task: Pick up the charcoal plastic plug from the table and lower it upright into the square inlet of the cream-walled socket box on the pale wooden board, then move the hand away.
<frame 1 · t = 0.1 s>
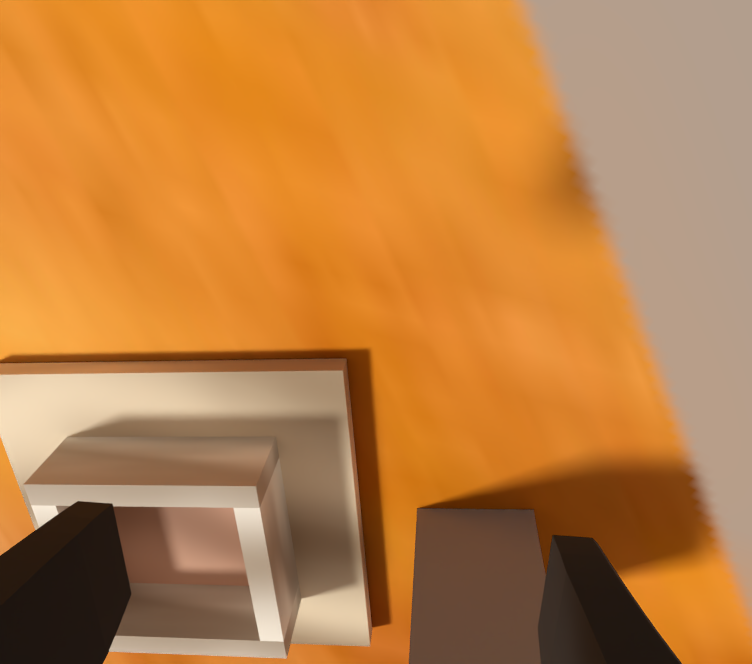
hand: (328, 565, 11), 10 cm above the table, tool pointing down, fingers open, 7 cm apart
plug: (474, 552, 23), on the table
holder box: (197, 506, 23), on the table
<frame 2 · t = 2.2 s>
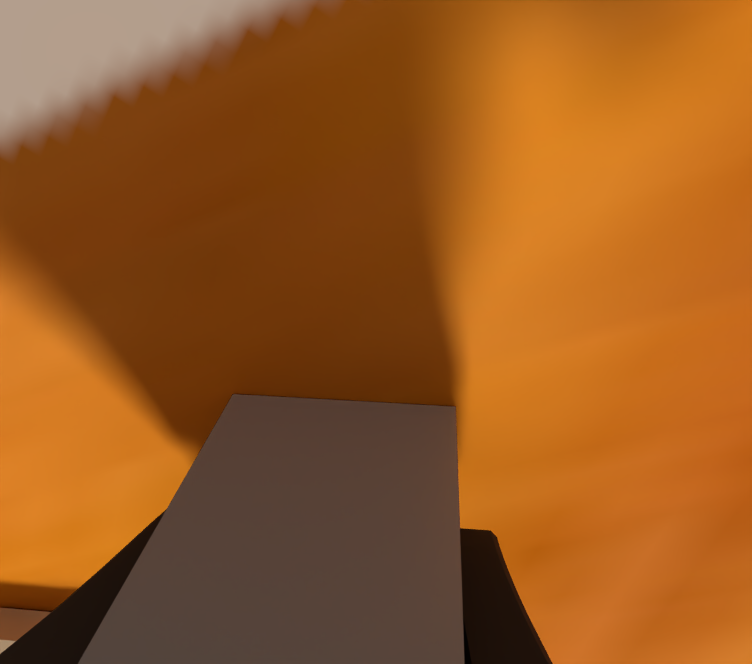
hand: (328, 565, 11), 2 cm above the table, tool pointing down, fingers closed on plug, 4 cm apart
plug: (344, 490, 12), on the table, touching gripper
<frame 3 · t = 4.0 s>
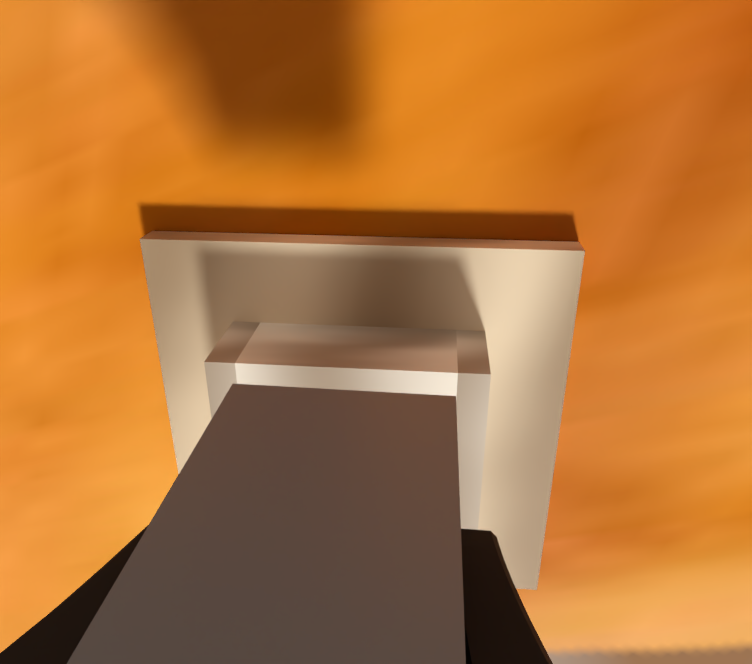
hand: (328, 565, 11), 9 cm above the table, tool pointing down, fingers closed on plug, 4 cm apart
plug: (344, 480, 12), point 7 cm above the table, touching gripper
holder box: (361, 418, 21), on the table
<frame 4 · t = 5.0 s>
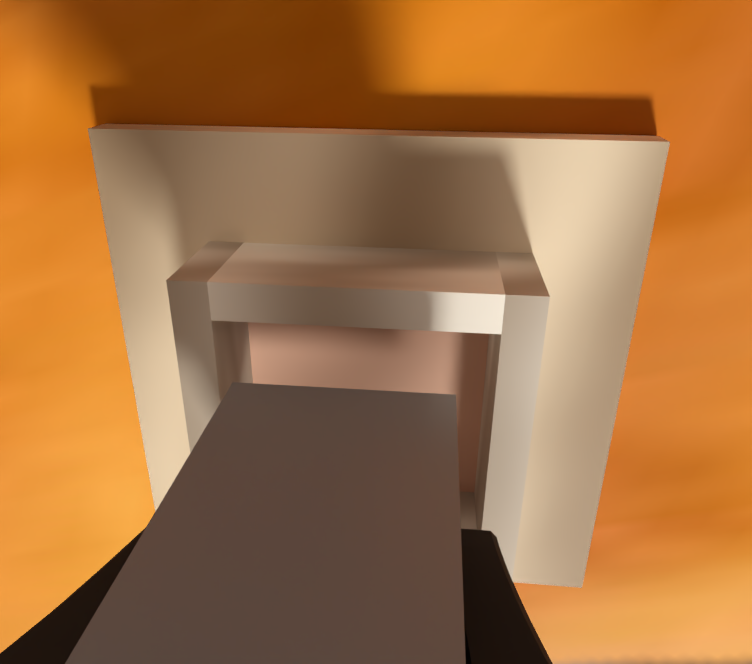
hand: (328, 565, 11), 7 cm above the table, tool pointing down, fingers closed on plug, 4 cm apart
plug: (344, 479, 12), point 5 cm above the table, touching gripper
holder box: (370, 372, 16), on the table
when the fingers open (4 cm above the table, at t = 5.9 s): plug drops 1 cm, resting on holder box.
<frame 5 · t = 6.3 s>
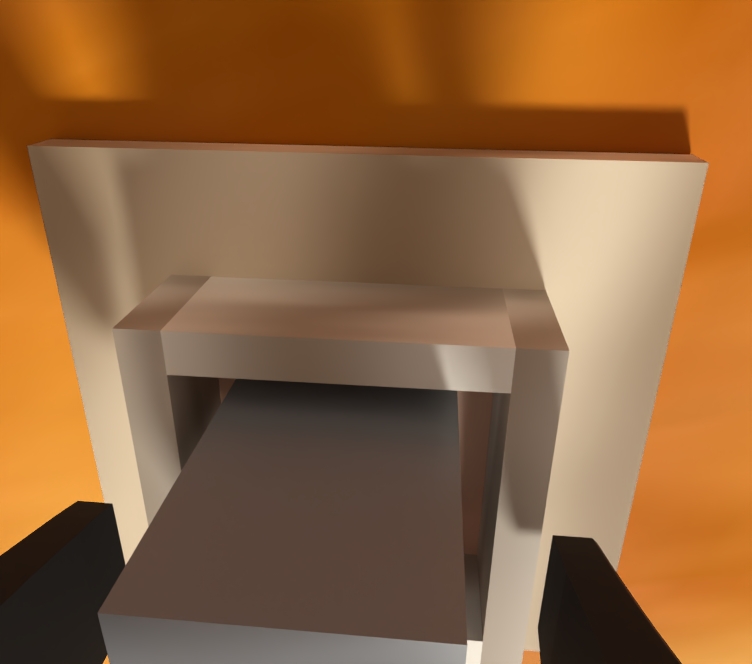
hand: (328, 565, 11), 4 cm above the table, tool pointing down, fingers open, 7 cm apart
plug: (354, 436, 14), point 1 cm above the table, touching holder box
holder box: (359, 419, 15), on the table
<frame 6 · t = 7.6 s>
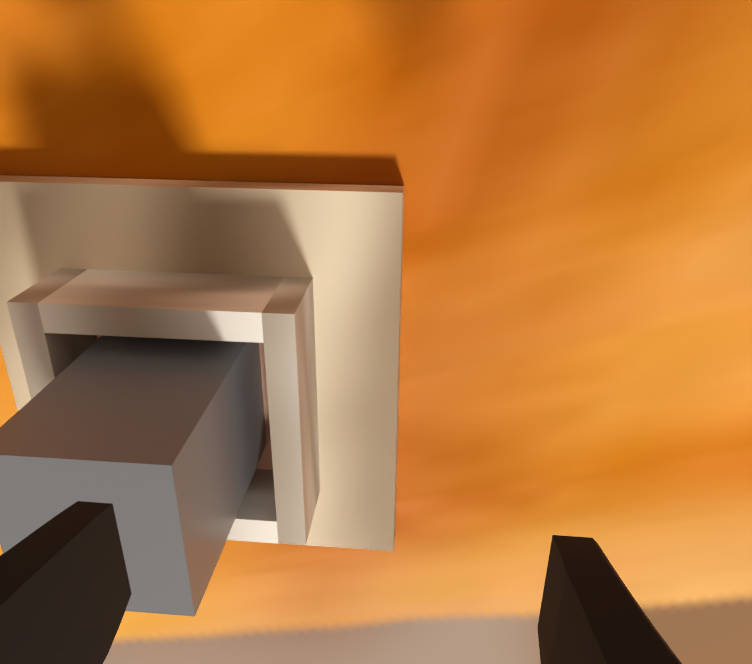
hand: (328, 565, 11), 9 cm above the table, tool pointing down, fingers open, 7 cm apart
plug: (196, 383, 19), point 1 cm above the table, touching holder box
holder box: (207, 373, 20), on the table
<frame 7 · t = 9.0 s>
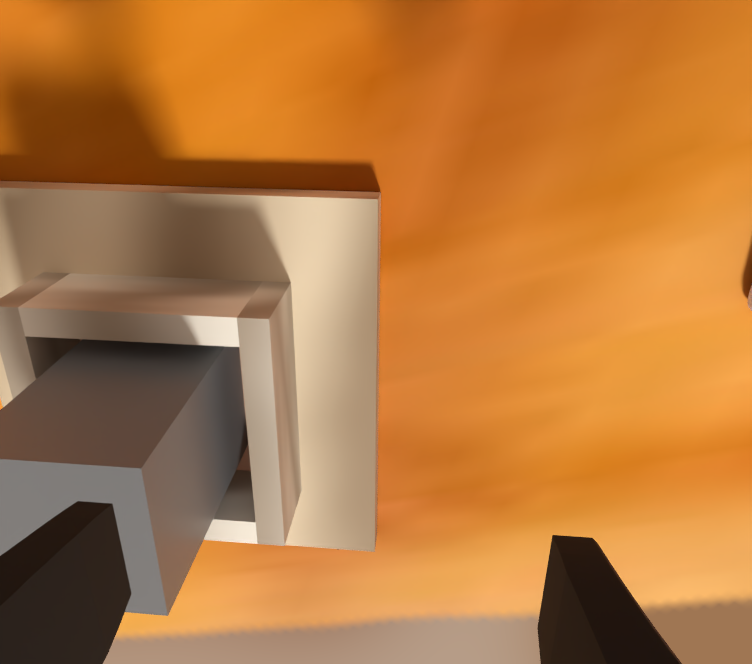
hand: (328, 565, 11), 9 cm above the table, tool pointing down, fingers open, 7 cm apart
plug: (177, 385, 19), point 1 cm above the table, touching holder box
holder box: (189, 375, 20), on the table
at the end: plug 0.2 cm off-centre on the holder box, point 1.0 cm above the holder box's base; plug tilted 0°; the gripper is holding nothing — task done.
